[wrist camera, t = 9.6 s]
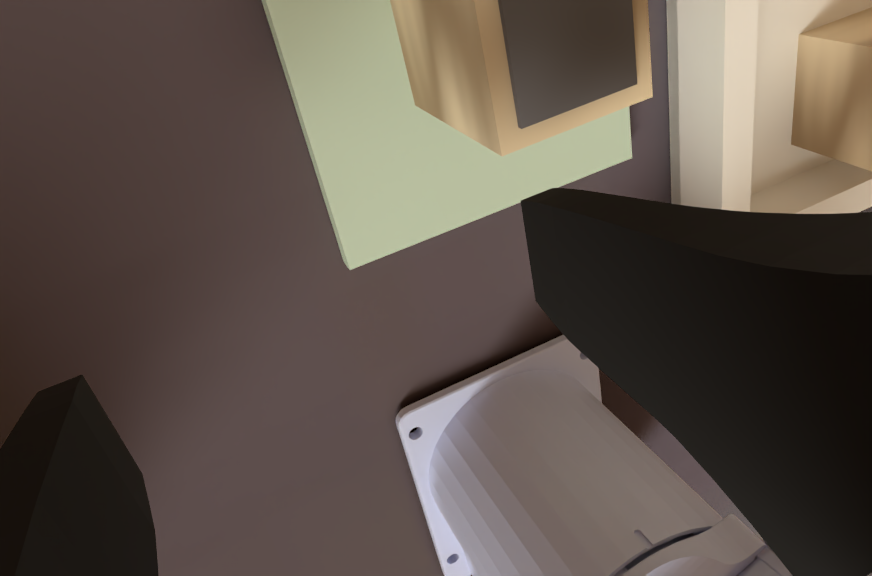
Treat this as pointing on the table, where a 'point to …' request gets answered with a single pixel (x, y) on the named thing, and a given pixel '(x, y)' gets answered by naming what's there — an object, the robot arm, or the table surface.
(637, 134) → the table surface
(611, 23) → the labelled block
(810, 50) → the plain block
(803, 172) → the tray
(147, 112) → the table surface
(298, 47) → the pad
